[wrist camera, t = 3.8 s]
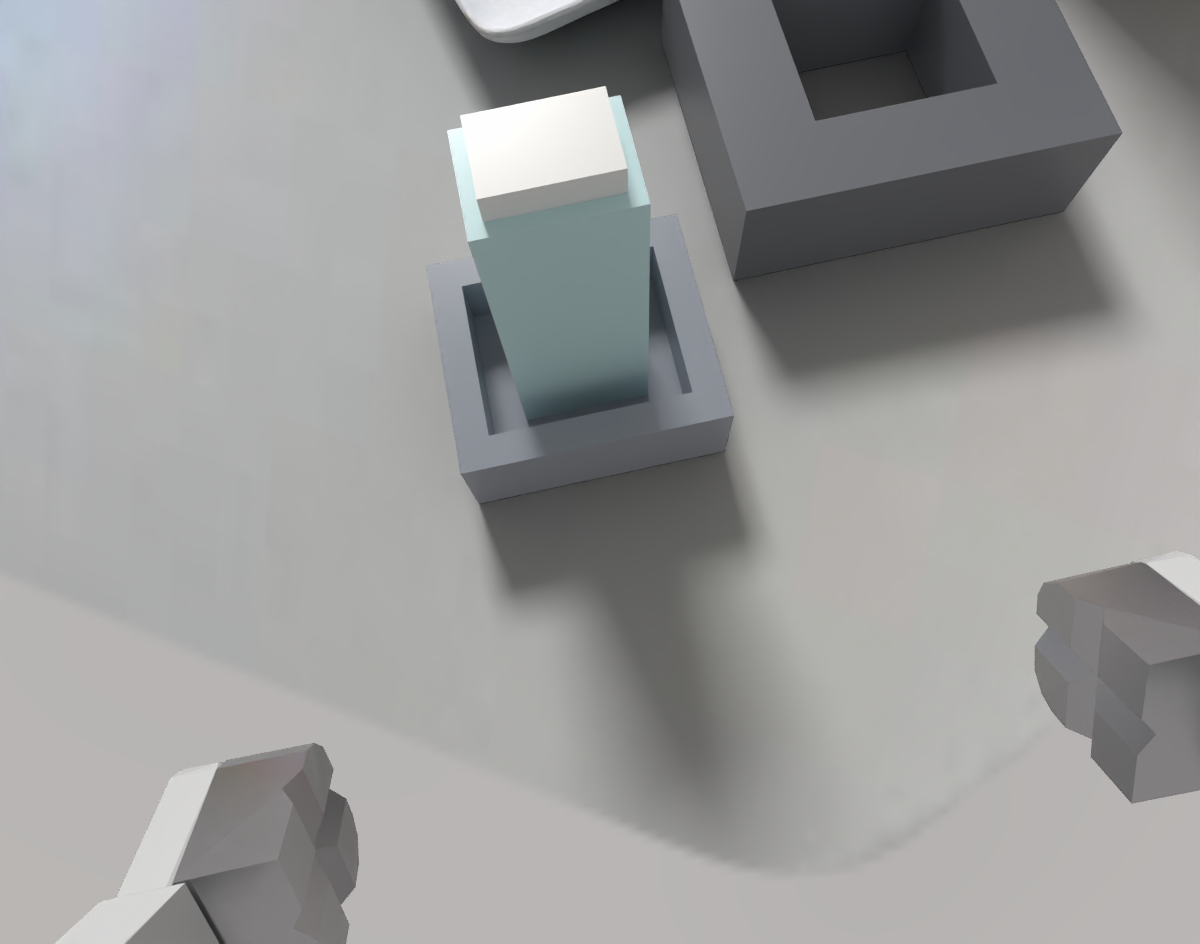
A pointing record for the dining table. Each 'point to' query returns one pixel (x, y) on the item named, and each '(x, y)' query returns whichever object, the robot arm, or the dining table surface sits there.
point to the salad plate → (524, 16)
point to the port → (881, 122)
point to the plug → (560, 245)
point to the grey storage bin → (589, 435)
